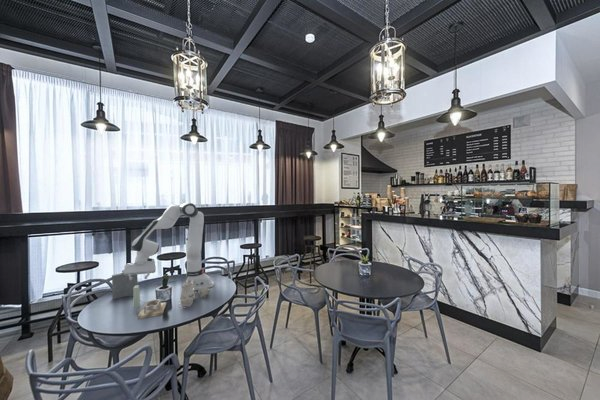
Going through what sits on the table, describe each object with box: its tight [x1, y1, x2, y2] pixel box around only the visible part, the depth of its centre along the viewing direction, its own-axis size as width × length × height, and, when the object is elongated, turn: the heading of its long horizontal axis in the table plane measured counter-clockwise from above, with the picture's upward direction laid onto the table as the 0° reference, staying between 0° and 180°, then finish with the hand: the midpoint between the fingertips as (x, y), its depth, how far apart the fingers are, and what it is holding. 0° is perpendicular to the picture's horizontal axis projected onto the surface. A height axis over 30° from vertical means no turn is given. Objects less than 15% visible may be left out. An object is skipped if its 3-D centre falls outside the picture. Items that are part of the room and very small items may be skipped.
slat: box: [132, 284, 141, 309], centre depth 170 cm, size 2×5×14 cm, turn 21°
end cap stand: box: [137, 298, 167, 319], centre depth 163 cm, size 14×16×6 cm
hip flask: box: [111, 269, 139, 300], centre depth 188 cm, size 16×4×20 cm, turn 121°
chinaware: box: [178, 279, 211, 309], centre depth 177 cm, size 28×17×17 cm, turn 168°
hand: (138, 279), depth 175 cm, fingers open, 8 cm apart
